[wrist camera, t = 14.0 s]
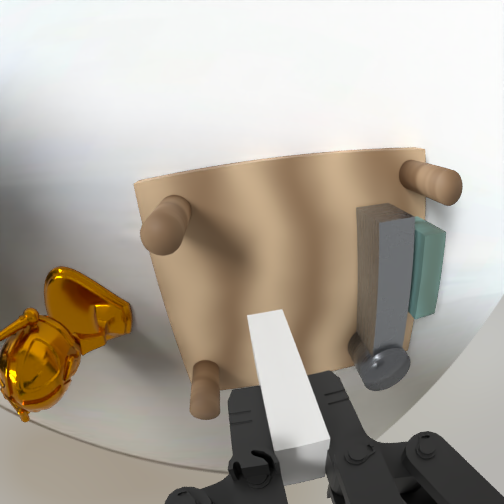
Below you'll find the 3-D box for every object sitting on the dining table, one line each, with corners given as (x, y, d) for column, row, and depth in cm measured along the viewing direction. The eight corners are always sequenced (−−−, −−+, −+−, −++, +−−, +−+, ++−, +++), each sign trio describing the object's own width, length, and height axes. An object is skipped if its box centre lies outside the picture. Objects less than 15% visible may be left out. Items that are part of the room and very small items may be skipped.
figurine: (26, 261, 23) (-52, 334, 12) (130, 274, 24) (77, 376, 13) (42, 336, 26) (-9, 418, 15) (135, 353, 27) (106, 457, 16)
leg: (387, 352, 28) (405, 382, 24) (346, 364, 28) (362, 396, 23) (397, 201, 22) (429, 217, 18) (346, 209, 22) (371, 227, 18)
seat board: (195, 382, 29) (192, 432, 23) (139, 180, 21) (108, 200, 15) (401, 342, 30) (429, 381, 24) (415, 147, 22) (465, 157, 16)
